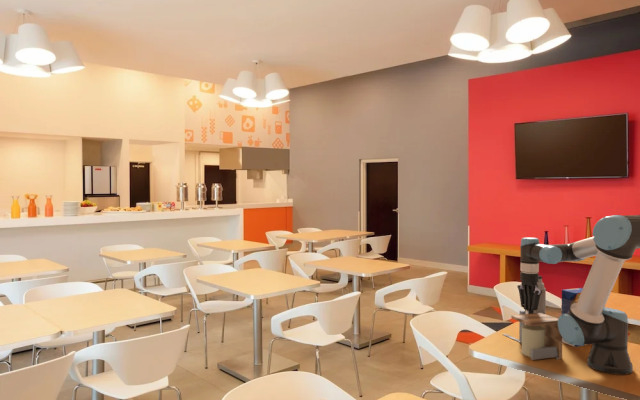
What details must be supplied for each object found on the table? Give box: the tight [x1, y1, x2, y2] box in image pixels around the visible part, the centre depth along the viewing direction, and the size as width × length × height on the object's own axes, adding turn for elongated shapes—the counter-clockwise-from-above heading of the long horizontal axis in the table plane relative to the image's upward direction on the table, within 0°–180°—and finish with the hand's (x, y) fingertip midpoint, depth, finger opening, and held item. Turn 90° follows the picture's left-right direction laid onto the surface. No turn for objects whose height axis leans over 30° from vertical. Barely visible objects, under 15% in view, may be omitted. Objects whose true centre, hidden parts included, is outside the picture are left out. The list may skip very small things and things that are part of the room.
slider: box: [518, 310, 558, 361], centre depth 201 cm, size 21×13×14 cm, turn 17°
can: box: [520, 324, 545, 358], centre depth 198 cm, size 9×9×12 cm
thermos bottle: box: [534, 275, 547, 314], centre depth 226 cm, size 8×8×28 cm
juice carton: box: [561, 287, 592, 348], centre depth 212 cm, size 12×8×24 cm, turn 110°
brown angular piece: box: [502, 313, 563, 360], centre depth 206 cm, size 34×16×16 cm, turn 17°
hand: (529, 324), depth 208 cm, fingers closed
